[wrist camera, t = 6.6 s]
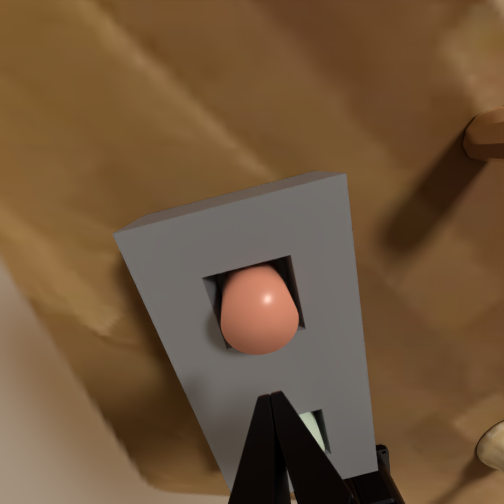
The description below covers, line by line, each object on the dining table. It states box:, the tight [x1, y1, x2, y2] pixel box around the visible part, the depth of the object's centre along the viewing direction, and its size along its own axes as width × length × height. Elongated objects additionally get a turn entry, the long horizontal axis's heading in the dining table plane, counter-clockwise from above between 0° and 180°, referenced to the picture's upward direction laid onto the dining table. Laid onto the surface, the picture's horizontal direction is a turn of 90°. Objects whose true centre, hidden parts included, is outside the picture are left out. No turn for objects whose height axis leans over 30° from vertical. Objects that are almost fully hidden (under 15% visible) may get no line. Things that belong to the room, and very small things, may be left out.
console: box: [113, 171, 378, 492], centre depth 19 cm, size 24×12×5 cm, turn 14°
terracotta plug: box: [221, 260, 299, 355], centre depth 15 cm, size 4×4×5 cm
